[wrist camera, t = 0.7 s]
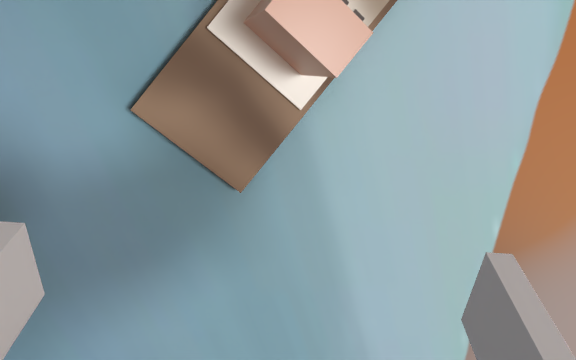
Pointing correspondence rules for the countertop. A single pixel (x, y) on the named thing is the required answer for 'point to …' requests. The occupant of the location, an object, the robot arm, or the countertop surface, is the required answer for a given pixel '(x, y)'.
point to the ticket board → (227, 101)
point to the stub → (292, 41)
